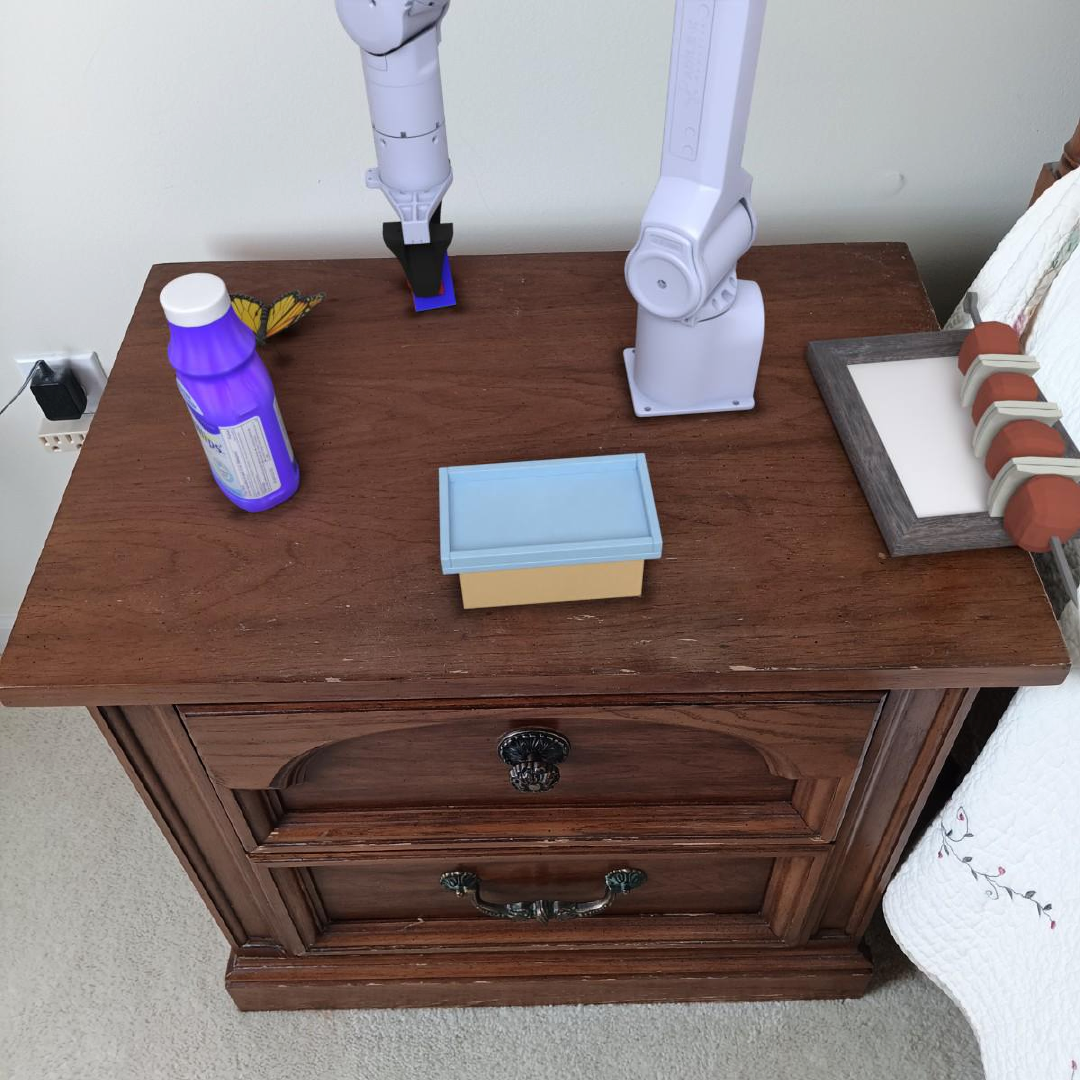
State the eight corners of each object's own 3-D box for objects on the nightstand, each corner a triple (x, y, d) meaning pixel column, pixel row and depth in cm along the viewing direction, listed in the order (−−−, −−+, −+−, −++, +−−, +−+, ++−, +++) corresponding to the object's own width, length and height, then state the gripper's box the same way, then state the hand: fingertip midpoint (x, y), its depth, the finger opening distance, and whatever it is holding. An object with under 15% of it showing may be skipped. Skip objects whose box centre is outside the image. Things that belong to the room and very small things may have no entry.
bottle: (203, 473, 76) (125, 281, 63) (270, 440, 78) (208, 248, 65) (247, 530, 73) (174, 339, 59) (316, 494, 75) (260, 301, 61)
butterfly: (188, 386, 83) (169, 337, 79) (204, 319, 88) (187, 271, 84) (333, 377, 83) (321, 329, 79) (339, 311, 89) (329, 263, 85)
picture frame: (999, 326, 82) (1123, 521, 69) (991, 345, 84) (1111, 539, 70) (809, 341, 81) (898, 542, 68) (804, 360, 82) (890, 561, 69)
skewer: (986, 321, 82) (1097, 633, 63) (928, 319, 82) (1023, 630, 63) (1010, 269, 78) (1136, 585, 59) (950, 267, 78) (1057, 582, 59)
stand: (639, 510, 73) (644, 452, 68) (656, 599, 68) (663, 542, 63) (447, 525, 72) (438, 467, 68) (449, 615, 67) (440, 559, 63)
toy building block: (450, 297, 92) (434, 206, 89) (456, 304, 88) (440, 209, 85) (411, 304, 92) (394, 213, 88) (416, 311, 88) (398, 216, 85)
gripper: (359, 78, 82) (383, 224, 93) (352, 172, 73) (379, 322, 84) (445, 73, 83) (459, 219, 93) (449, 166, 73) (463, 317, 84)
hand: (426, 267), depth 88 cm, fingers open, 7 cm apart
